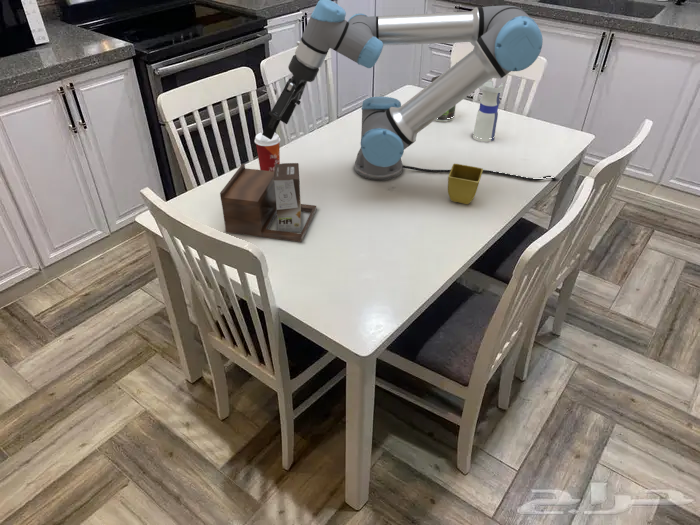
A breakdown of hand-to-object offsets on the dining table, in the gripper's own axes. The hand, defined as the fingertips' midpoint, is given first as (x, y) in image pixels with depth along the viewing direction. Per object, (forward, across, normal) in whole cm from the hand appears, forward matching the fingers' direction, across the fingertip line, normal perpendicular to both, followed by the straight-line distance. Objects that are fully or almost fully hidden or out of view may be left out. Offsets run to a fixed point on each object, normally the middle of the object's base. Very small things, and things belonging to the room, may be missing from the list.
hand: (275, 129), depth 151 cm
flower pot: (-8, -8, +57) cm, 58 cm away
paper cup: (+19, -7, +4) cm, 21 cm away
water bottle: (-14, -53, +59) cm, 81 cm away
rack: (+17, +16, +12) cm, 26 cm away
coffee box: (+15, +16, +17) cm, 27 cm away
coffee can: (-8, -68, +44) cm, 81 cm away
